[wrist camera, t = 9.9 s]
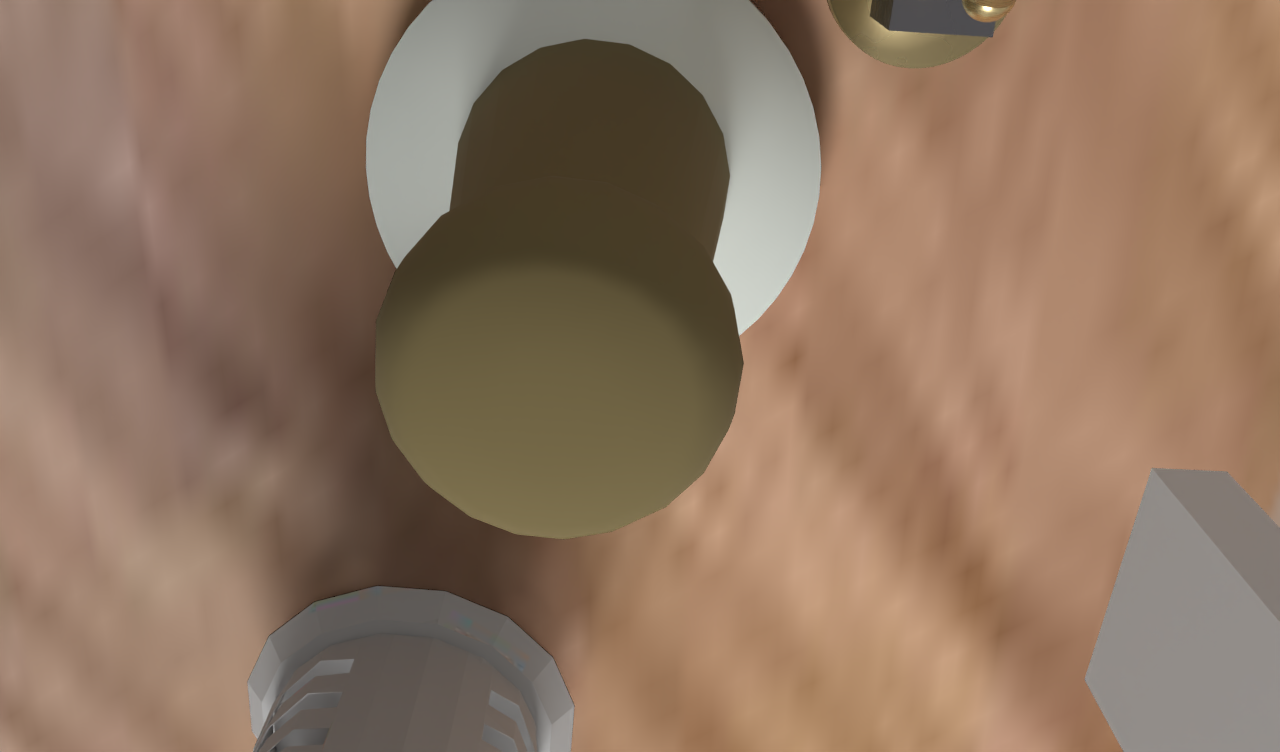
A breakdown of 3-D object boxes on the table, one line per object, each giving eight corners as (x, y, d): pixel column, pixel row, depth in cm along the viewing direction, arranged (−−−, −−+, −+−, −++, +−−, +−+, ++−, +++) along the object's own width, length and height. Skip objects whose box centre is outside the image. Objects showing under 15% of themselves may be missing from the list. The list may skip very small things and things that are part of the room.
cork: (409, 97, 23) (225, 287, 13) (676, -5, 22) (696, 116, 12) (519, 340, 25) (435, 654, 16) (765, 258, 24) (839, 536, 15)
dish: (387, 351, 27) (376, 372, 26) (367, -82, 23) (353, -78, 21) (786, 374, 27) (791, 396, 26) (842, -51, 23) (852, -46, 22)
